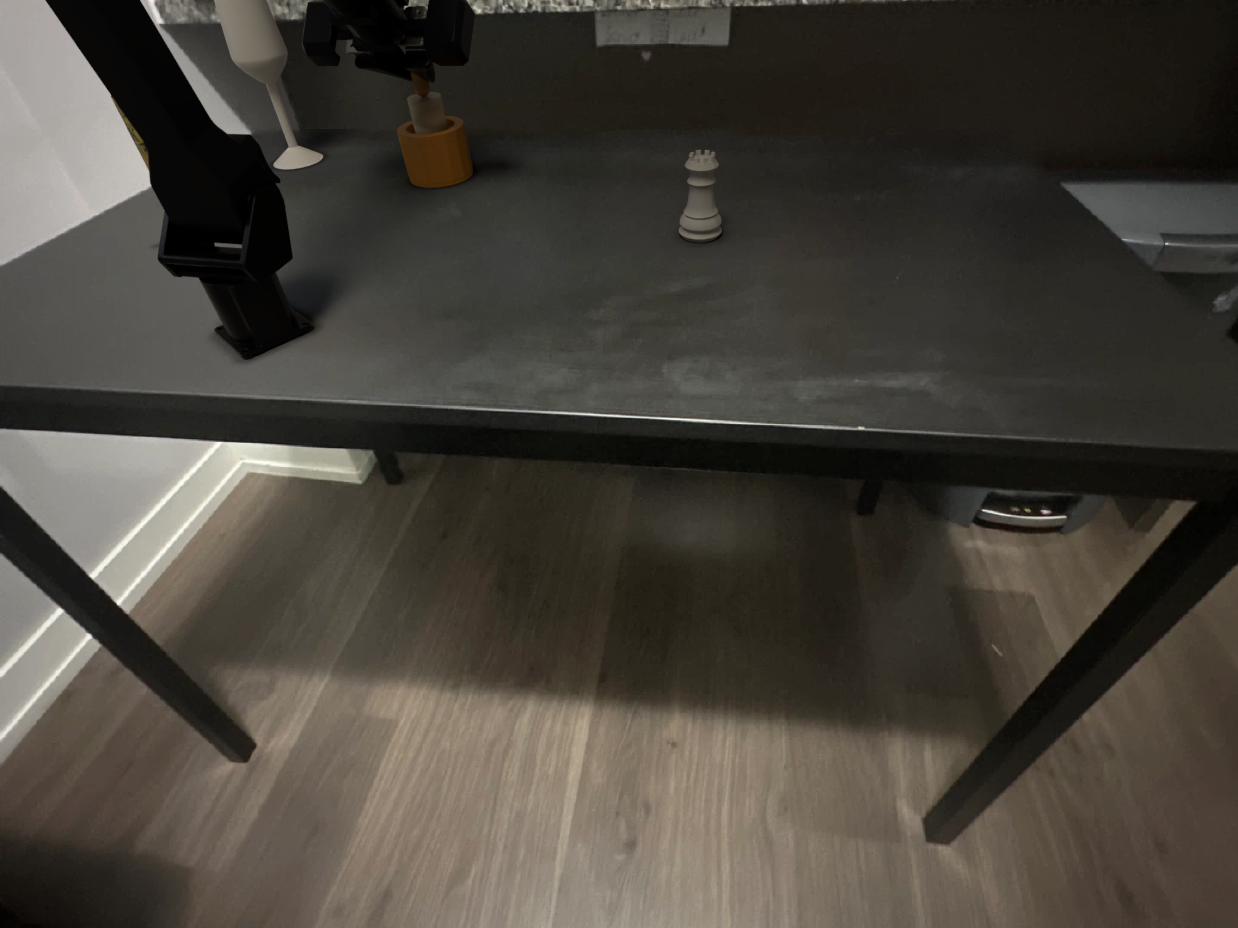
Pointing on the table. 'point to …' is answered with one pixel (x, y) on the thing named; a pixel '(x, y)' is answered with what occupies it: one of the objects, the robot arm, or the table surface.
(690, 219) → the rook chess piece
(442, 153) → the orange cylindrical pot
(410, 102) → the brush
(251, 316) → the robot arm
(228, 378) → the table surface
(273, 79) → the champagne flute
